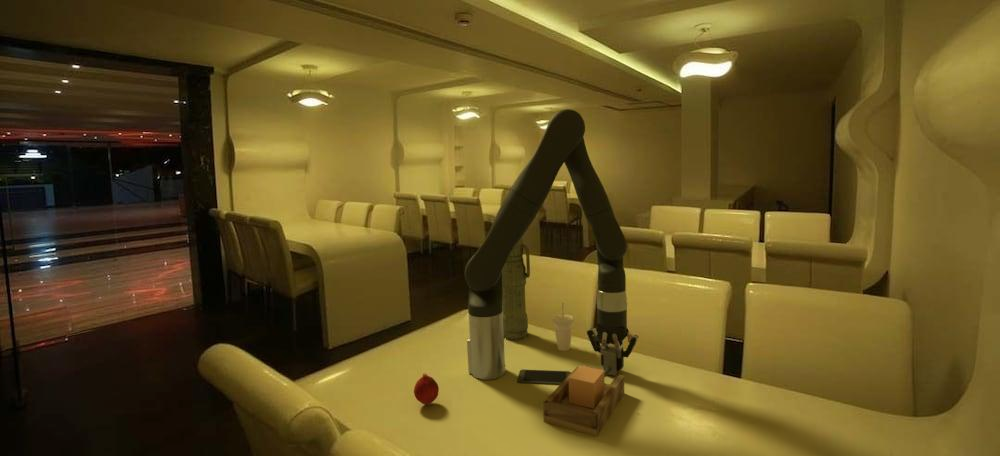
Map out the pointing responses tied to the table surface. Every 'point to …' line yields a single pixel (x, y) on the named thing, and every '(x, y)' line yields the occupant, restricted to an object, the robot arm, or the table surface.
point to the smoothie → (563, 330)
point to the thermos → (515, 293)
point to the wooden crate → (582, 408)
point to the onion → (426, 389)
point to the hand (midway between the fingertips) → (612, 368)
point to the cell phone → (542, 377)
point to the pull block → (592, 381)
